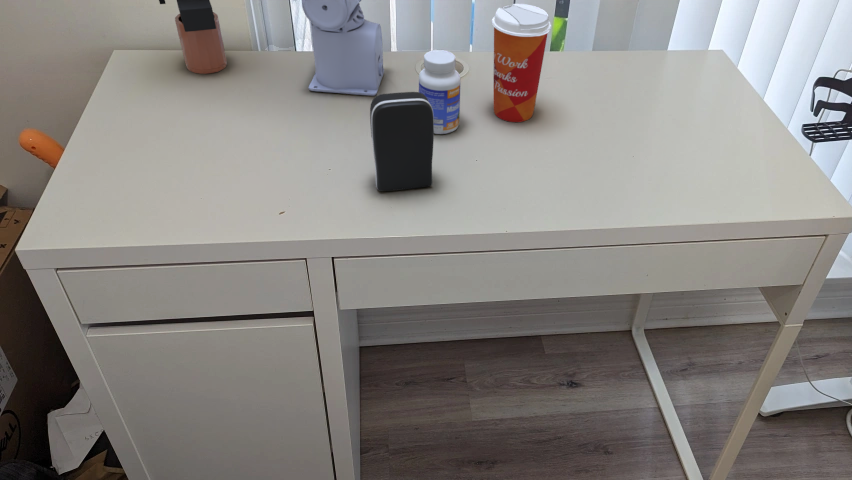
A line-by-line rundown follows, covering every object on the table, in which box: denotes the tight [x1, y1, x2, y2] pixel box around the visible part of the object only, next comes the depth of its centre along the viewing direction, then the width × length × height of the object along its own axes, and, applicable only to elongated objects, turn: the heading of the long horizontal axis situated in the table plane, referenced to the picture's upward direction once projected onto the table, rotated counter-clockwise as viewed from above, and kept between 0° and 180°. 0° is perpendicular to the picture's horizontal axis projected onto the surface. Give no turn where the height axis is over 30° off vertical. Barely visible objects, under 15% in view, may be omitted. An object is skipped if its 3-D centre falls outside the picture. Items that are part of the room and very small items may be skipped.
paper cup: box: [491, 3, 552, 123], centre depth 97 cm, size 8×8×14 cm
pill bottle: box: [418, 49, 461, 135], centre depth 94 cm, size 5×5×10 cm
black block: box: [176, 0, 216, 32], centre depth 99 cm, size 9×4×3 cm, turn 24°
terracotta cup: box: [174, 11, 228, 75], centre depth 103 cm, size 6×6×7 cm
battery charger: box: [369, 91, 435, 192], centre depth 83 cm, size 7×4×11 cm, turn 106°
